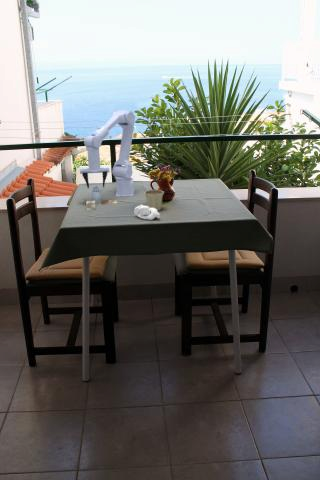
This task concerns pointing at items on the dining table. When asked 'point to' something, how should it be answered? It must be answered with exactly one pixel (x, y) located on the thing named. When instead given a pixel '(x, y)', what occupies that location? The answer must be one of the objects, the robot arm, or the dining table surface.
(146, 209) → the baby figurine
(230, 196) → the dining table surface
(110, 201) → the track
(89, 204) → the die
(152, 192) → the flower pot
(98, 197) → the pawn
